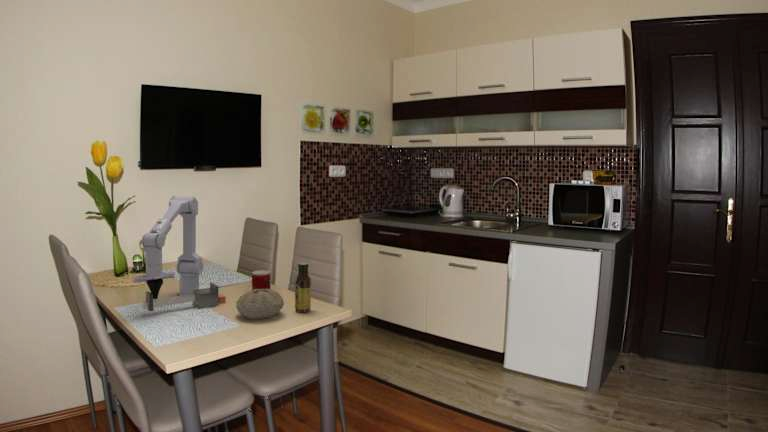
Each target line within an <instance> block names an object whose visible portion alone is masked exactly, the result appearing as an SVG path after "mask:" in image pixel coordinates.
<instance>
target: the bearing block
mask: <svg viewBox="0 0 768 432" xmlns="http://www.w3.org/2000/svg"><path fill="white" fill-rule="evenodd" d="M195 293H196V294H197V301H192V305H193V306H194V305H195V308H197V307H198V308H197V309H199V310H200V308H201V309H206V308H211V307H217V306H219V305H220V304H219V295H220V294H219V285H218V284H215V283H214V282H209V287H207V288H205V287H204V288H201V289H200V288H199V289H198V290H193V294H195Z"/></svg>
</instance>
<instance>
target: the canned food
mask: <svg viewBox="0 0 768 432" xmlns="http://www.w3.org/2000/svg"><path fill="white" fill-rule="evenodd" d="M255 289H256V290H257V289H260V290H261V289H271V271H269V270H263V269H262V270H254V271H252V272H251V290H255Z"/></svg>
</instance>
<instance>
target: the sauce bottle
mask: <svg viewBox="0 0 768 432" xmlns="http://www.w3.org/2000/svg"><path fill="white" fill-rule="evenodd" d="M297 267H298V274H297V276H296V279H295V282H294V307H295V312H296V313H299V314H300V313H301V314H302V313H303V314H304V313H305V314H307V313H309V312H310V311H311V307H312V306H311V305H312V304H311V303H312V301H311V299H312V295H311V293H312V284H311V283H312V282H311V277H310V275H309V262H306V261H305V262H304V261H302V262H301V261H300V262H298V263H297Z"/></svg>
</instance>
